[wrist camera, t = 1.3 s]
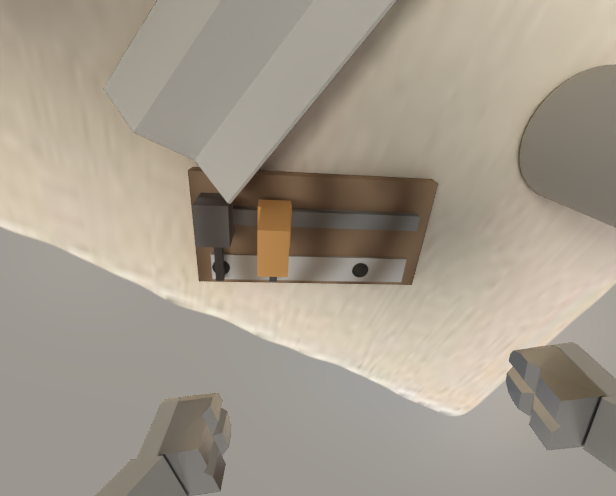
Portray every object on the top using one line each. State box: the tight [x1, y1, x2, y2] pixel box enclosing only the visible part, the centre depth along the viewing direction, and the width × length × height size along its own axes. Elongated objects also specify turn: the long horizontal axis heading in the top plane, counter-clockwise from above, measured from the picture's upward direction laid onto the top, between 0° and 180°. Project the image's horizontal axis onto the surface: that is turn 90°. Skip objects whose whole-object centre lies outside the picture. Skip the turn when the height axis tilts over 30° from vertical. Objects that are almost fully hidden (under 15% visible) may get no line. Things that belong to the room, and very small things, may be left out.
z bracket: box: [104, 0, 397, 204], centre depth 23 cm, size 12×25×6 cm
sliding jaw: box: [257, 199, 292, 282], centre depth 29 cm, size 3×9×8 cm, turn 176°
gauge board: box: [188, 167, 438, 285], centre depth 32 cm, size 24×12×5 cm, turn 86°
